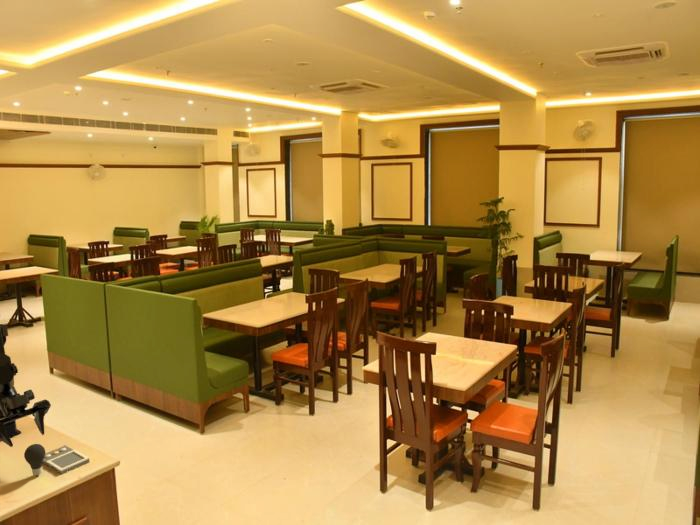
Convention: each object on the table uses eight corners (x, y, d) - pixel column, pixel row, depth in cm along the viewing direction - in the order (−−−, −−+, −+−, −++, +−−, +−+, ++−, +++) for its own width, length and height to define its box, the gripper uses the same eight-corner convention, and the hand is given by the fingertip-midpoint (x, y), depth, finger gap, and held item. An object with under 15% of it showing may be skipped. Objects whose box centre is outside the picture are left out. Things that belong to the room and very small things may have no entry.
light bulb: (38, 481, 172) (35, 450, 170) (22, 479, 173) (18, 448, 171) (52, 471, 177) (48, 441, 175) (36, 469, 178) (32, 439, 176)
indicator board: (37, 459, 184) (37, 455, 184) (65, 448, 191) (65, 444, 191) (61, 474, 175) (60, 470, 175) (89, 461, 182) (89, 457, 182)
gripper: (-21, 394, 168) (0, 440, 163) (44, 375, 183) (65, 416, 178) (-28, 413, 174) (-8, 457, 169) (35, 392, 189) (56, 433, 184)
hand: (28, 440), depth 175 cm, fingers open, 9 cm apart
